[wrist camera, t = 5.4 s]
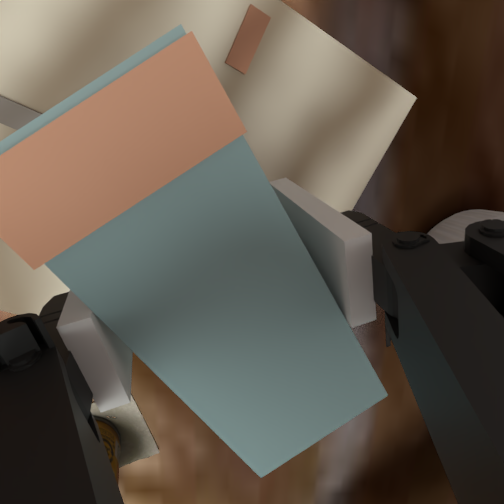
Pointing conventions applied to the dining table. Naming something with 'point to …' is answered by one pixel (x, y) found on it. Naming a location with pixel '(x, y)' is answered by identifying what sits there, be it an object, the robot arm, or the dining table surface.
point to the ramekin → (461, 224)
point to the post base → (231, 78)
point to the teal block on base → (186, 251)
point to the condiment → (124, 435)
